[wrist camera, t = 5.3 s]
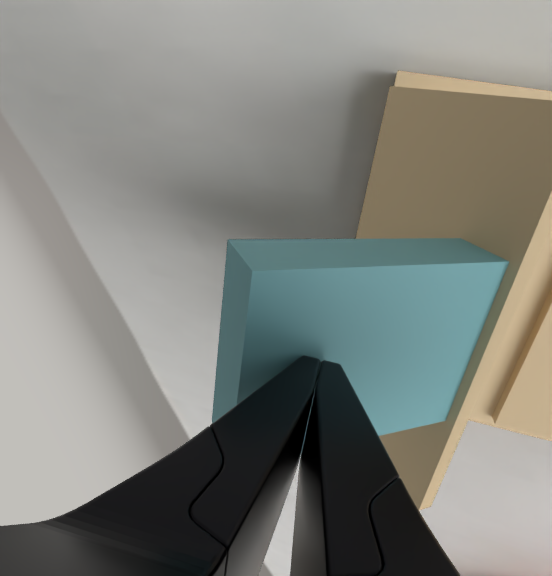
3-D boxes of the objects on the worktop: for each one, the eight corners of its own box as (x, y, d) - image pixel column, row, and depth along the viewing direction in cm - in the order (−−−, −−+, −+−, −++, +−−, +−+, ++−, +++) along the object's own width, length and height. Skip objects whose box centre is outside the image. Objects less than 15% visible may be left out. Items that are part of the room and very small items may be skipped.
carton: (847, 134, 13) (925, 139, 11) (638, 441, 19) (667, 478, 17) (393, 73, 15) (395, 69, 13) (328, 363, 21) (322, 389, 19)
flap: (603, 106, 8) (286, 46, 6) (430, 506, 14) (220, 574, 11) (402, 87, 14) (189, 52, 11) (333, 379, 19) (176, 403, 16)
